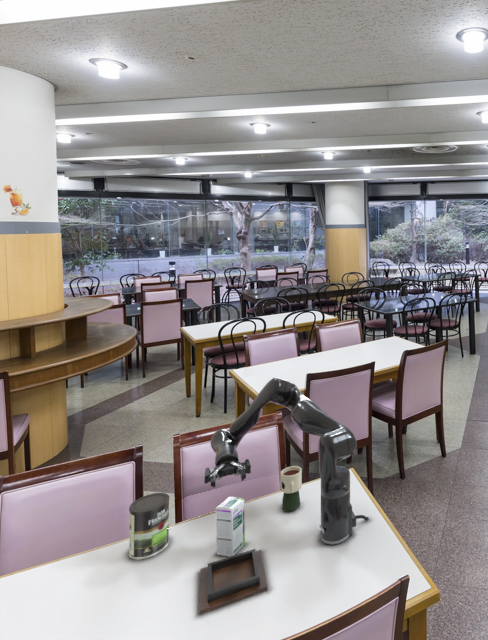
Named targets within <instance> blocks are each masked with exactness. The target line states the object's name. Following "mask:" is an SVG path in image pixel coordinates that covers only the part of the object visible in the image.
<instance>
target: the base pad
mask: <svg viewBox="0 0 488 640" xmlns="http://www.w3.org/2000/svg"><path fill="white" fill-rule="evenodd" d="M199 574H200V575H199V576H200V579H199V582H200V583H199V615H203V614H205V613H208V612H212V611H214V610H217V609H219V608H222V607H225V606H227V605H230V604H234V603H237V602H238V601H241V600H244V599H247V598H250V597H252V596H256V595H258V594H261V593H263V592H266V591H268V581H267V577H266V576H267V575H266V571H265V565H264V560H263V554H262V550H261V549H258V550H256V548H253V549H250V550H247V551H244V552H241V553H236V554H235V555H234V556H231V557H229V556H226V557H224V558H222V559H218V560H215V561H212V562H208V563H207V566H205V567H202V568H200V573H199Z"/></svg>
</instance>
